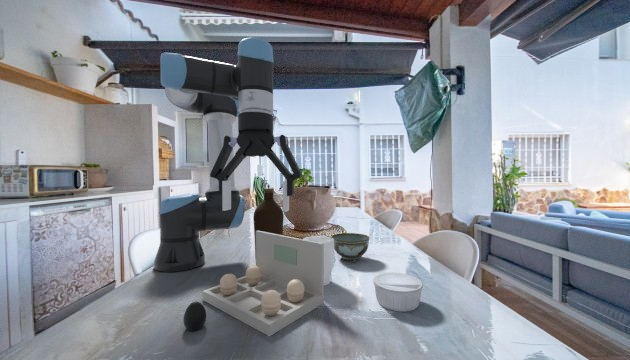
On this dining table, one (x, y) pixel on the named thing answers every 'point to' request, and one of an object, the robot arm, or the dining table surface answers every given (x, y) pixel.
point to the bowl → (350, 245)
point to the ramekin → (398, 291)
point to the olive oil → (268, 216)
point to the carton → (274, 284)
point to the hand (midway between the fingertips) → (256, 210)
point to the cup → (325, 254)
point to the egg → (194, 316)
